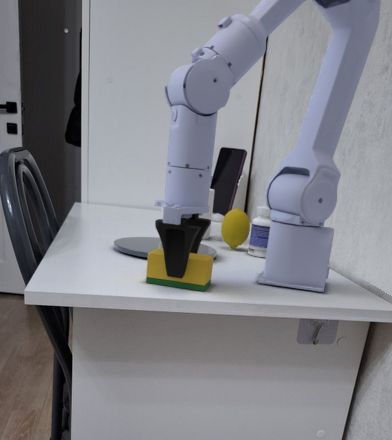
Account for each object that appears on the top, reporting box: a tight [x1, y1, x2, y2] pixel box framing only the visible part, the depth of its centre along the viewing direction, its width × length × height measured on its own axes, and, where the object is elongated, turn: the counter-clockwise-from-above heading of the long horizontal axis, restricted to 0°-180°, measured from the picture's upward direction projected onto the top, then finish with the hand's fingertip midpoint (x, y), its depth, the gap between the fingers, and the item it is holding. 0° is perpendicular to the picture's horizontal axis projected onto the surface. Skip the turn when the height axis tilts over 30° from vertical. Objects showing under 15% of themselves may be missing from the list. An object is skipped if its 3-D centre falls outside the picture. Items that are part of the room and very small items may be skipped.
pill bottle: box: [247, 205, 272, 259], centre depth 102 cm, size 5×5×9 cm
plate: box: [113, 236, 218, 259], centre depth 95 cm, size 18×18×1 cm
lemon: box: [220, 207, 251, 250], centre depth 106 cm, size 6×6×8 cm
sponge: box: [145, 248, 215, 292], centre depth 73 cm, size 8×4×4 cm, turn 77°
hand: (179, 273), depth 73 cm, fingers closed on sponge, 4 cm apart
